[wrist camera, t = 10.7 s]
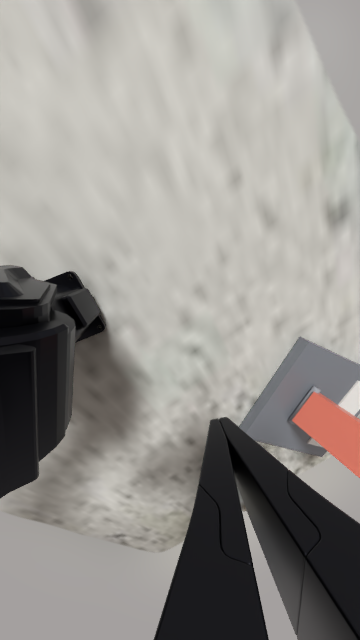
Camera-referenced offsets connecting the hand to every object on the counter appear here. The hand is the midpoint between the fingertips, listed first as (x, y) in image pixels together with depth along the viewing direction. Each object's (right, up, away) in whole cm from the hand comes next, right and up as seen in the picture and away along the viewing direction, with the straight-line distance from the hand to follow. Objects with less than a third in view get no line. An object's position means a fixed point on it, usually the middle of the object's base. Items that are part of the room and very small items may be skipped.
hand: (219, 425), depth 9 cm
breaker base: (+17, -7, +18) cm, 26 cm away
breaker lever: (+15, -6, +16) cm, 23 cm away
